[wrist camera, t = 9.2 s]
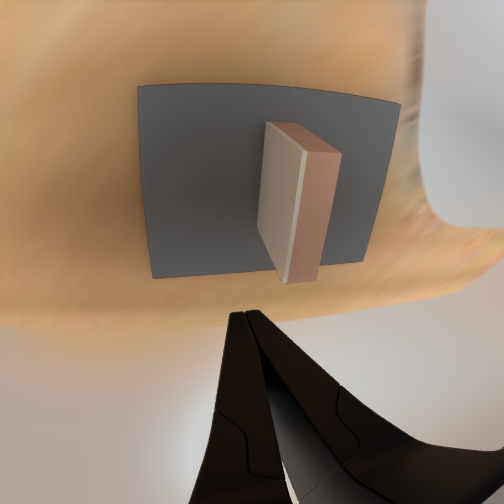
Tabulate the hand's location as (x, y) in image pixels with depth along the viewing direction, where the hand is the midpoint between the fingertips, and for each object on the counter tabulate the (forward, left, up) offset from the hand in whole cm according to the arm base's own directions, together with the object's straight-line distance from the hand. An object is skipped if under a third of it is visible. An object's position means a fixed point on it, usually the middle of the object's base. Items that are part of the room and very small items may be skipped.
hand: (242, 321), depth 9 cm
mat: (+4, 0, -10) cm, 10 cm away
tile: (+4, +1, -9) cm, 10 cm away
